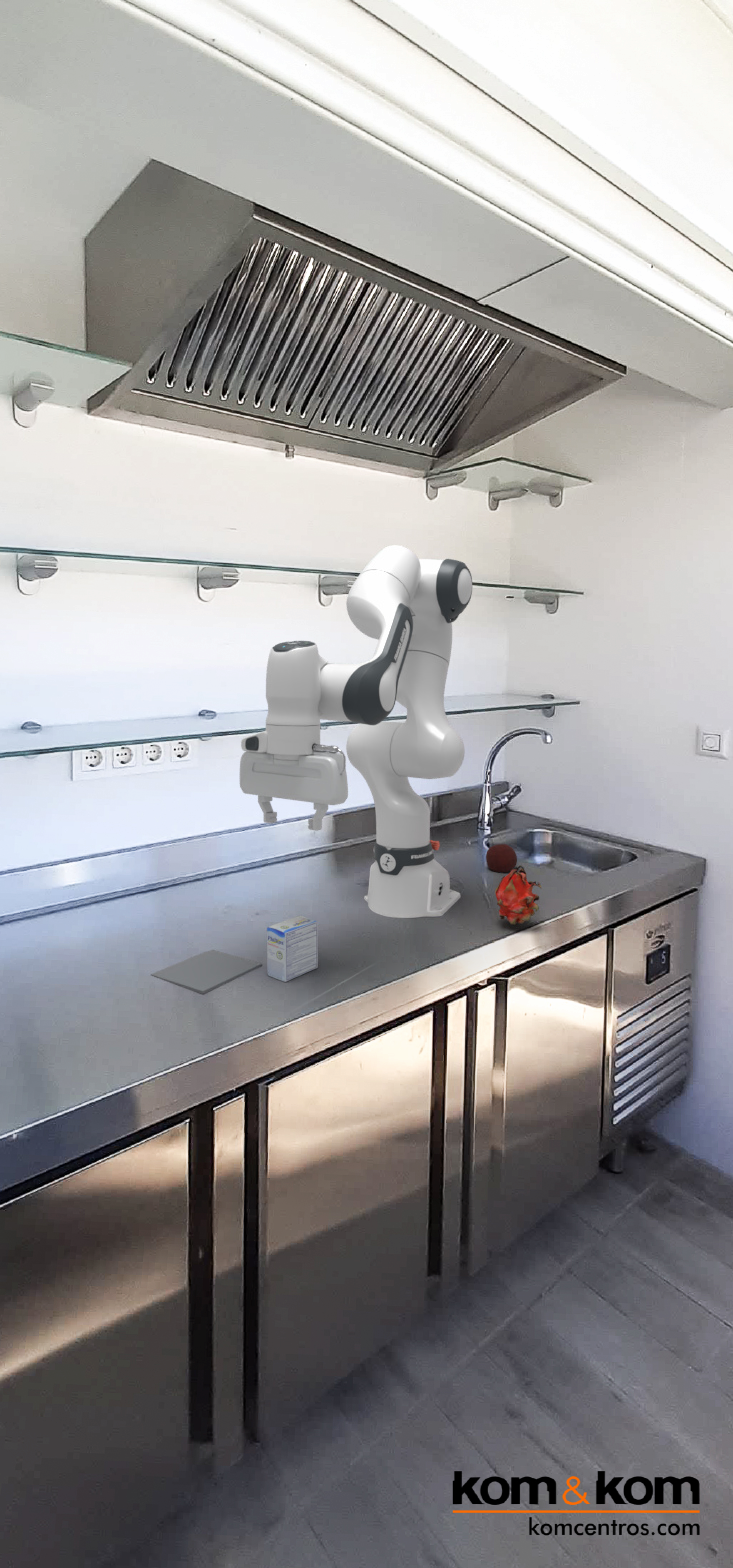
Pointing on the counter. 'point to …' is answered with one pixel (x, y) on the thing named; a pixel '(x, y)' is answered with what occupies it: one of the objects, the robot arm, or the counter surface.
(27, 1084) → the counter surface
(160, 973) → the mat
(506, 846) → the dark brown ball
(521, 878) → the dragon fruit
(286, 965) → the medicine box
